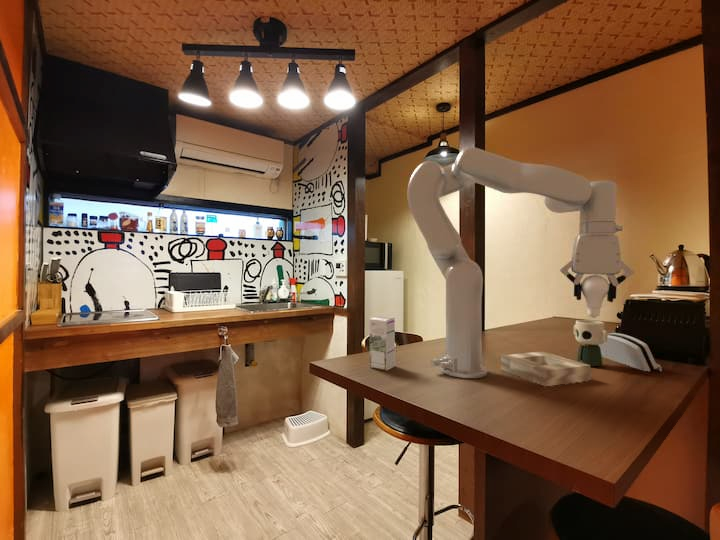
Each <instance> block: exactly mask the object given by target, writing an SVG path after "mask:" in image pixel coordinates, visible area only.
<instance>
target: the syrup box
mask: <svg viewBox="0 0 720 540" xmlns="http://www.w3.org/2000/svg"><path fill="white" fill-rule="evenodd" d="M368 323H369V368H370V369H375V370H381V371H389V370H390V369H392V368H395V366H396V355H395V354H396V353H395V352H396V349H395V348H396V345H395V344H396V343H395V341H396V340H395V334H396V330H395V327H396V325H395V323H396V320H395V317H389V316H388V317H387V316H373V317H371V318H369V322H368Z"/></svg>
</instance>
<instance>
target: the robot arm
mask: <svg viewBox="0 0 720 540" xmlns="http://www.w3.org/2000/svg"><path fill="white" fill-rule="evenodd" d="M475 184H479V185H482V186H484V187H487V188H490V189H493V190H494V191H498V192H500V193H502V194H503V193H504V194H522V193H524V194H526V193H527V194H533V195H538V196H542V197H544V204H545V207H546V208H547V209H548V210H549V211H550V212H552V213H557V214H565V213H572V212H573V213H574V212H579V225H578V226H579V228H578V235H577V236H575V238H574V241H573V246H572V252H571V253H572V255H571V260H570V261H568V262H567V263H566V264H565V265H564V266H562V267H561V268H560V269H559V272H560V273H562V274H563V275H564V276H565V277H566V278H567V279H568V281H570V282H571V283H573V297H574V298H575V297H576V300H577V301H580V300H582V291H581V288H582V285H581V282H582V279H583V277H584V275H599V276H602V275H604V276H606V277H607V281H608V283H609V292H608V293H607V295H606V296H607V297H606V298H607V299H606V300H607V302H609V303H613V302H614V300H617V286H619V285H620V284H622V283H623V282H624V281H625V280H627V279H628V278H629V277H630V276H632V275H633V274H634V273H635V272H634V270H633V269H632V268H631V267H629V266H628V265H627V264H626V263H624V262H623V261H622V256H621V255H622V252H621V243H620V239H619V235H617V234H616V233H617V232H622V231H623V227H624V226H623V225H619V224H617V222H616V217H617V216H616V215H617V193H618V190H617V189H618V188H617V184H616V183H615V182H614V181H613V180H612V181H611V180H596V181H590V180H588V179H587V178H586V177H584V176H583V175H580V174H577V173H575V172H572V171H570V170H566V169H564V168H561V167H557V166H552V165H548V164H539V163H538V164H537V163H531V162H530V163H529V162H520V161H516V160H513V159H510V158H507V157H504V156H502V155H498V154H496V153H492V152H490V151H487V150H484V149H481V148H478V147H470V146H469V147H466V148H464V149H462V150H460V152H459V153H458V155H457V156H456V158H455V161H454V162H453V163H451V164H448V165H446V166H444V167H443V166H442V165H441V164H439V163H438V162H437V161H433V160H426V161H423V162H422V163H420V164H419V165H417V167H416V168H415V169H414V171H413V172H412V173H411V176H410V179H409V181H408V185H407V190H406V191H407V193H406V197H407V203H408V208H409V210H410V214H411V215H412V217H413V219H414V221H415V223H416V225H417V227H418V229H419V231H420V232H421V234H422V236H423V238H424V240H425V242H426V244H427V245H426V246H427V248H428V251H429V253H430V255H431V256H432V258H433V260H434V262H435V263H436V265H437V267H438V269H439V270H440V272H441V275H442V276H443V277H444V279H445V353H442V355H441V357H440V358H431V359H430V363H429V364H430V366H431V367H439V368H440V369H439V370H440V371H441V373H443V374H444V375H448V376H451V377H455V378H461V379H479V378H480V379H481V378H483V377H486V376H487V375H488V368H487V367H485V366H484V365H482V352H483V351H482V346H483V345H482V339H483V338H482V333H483V332H482V331H483V330H482V326H483V325H482V318H483V317H482V296H483V285H484V278H483V272H482V269H481V267H480V265H479V264H478V263H477V262H475V261H474V260H472V259H471V258H470V257H469V255H468V253H467V251H466V249H465V248H464V246H463V244H462V238H461V235H460V233H459V232H458V231H457V229H456V228H455V227H454V225H453V222H452V221H451V220H450V218H449V216H448V214H446V211H445V208H444V207H443V205H442V203H441V200H440V198H443V197H446V196H447V195H451V194H453V193H456V192H458V191H461V190H464V189H466V188H468V187H470V186H473V185H475ZM570 268H571V272H572V273H574V274H575V275H573V274H571V272H569V269H570ZM621 270H622V272H623V273H622V274H620V273H621ZM618 274H620V275H619V276H618V277H616V275H618Z"/></svg>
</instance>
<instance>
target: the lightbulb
mask: <svg viewBox="0 0 720 540" xmlns="http://www.w3.org/2000/svg"><path fill="white" fill-rule="evenodd" d="M609 283H610V282H609V280H608V279H606V278H605V277H603V276H602V275H599V274H591V275H588V276H586V277H585V278H584V279H583V280H581V282H580V285H582V288H581V294H582V295H583V296H584V298H585V301H586V307H587V315H588V316H589V317H591V318H593V319H596V318H598V317H600V314H601V308H602V306H603V301H604V299H605V298H606V296H607V293H608V292H609Z"/></svg>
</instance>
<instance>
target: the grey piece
mask: <svg viewBox="0 0 720 540" xmlns="http://www.w3.org/2000/svg"><path fill="white" fill-rule="evenodd" d="M598 346H599V347H600V349H601V355H602V358H605V359H607V360H610V361H614V362H616V363H619V364H623V365H625V364H626V365H625V366H628V365H629V366H628V367H631V368H634V369H636V370H637V369H638V370H640V371H643V372H646V371H648V372H651V369H652V370H656V371H658V372H662V371H663V370H662V366H661V364H658V363H656V361H655V358H654V356H653V354H652V351H651V350H650V348H649V345H648V344H647V343H645V341H641V340H640V339H638V338H636V337H633V336H630V335H627V334H624V333H619V332H611V333H610V332H609V333H608V340H607V342H604V344H601V345H598Z"/></svg>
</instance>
